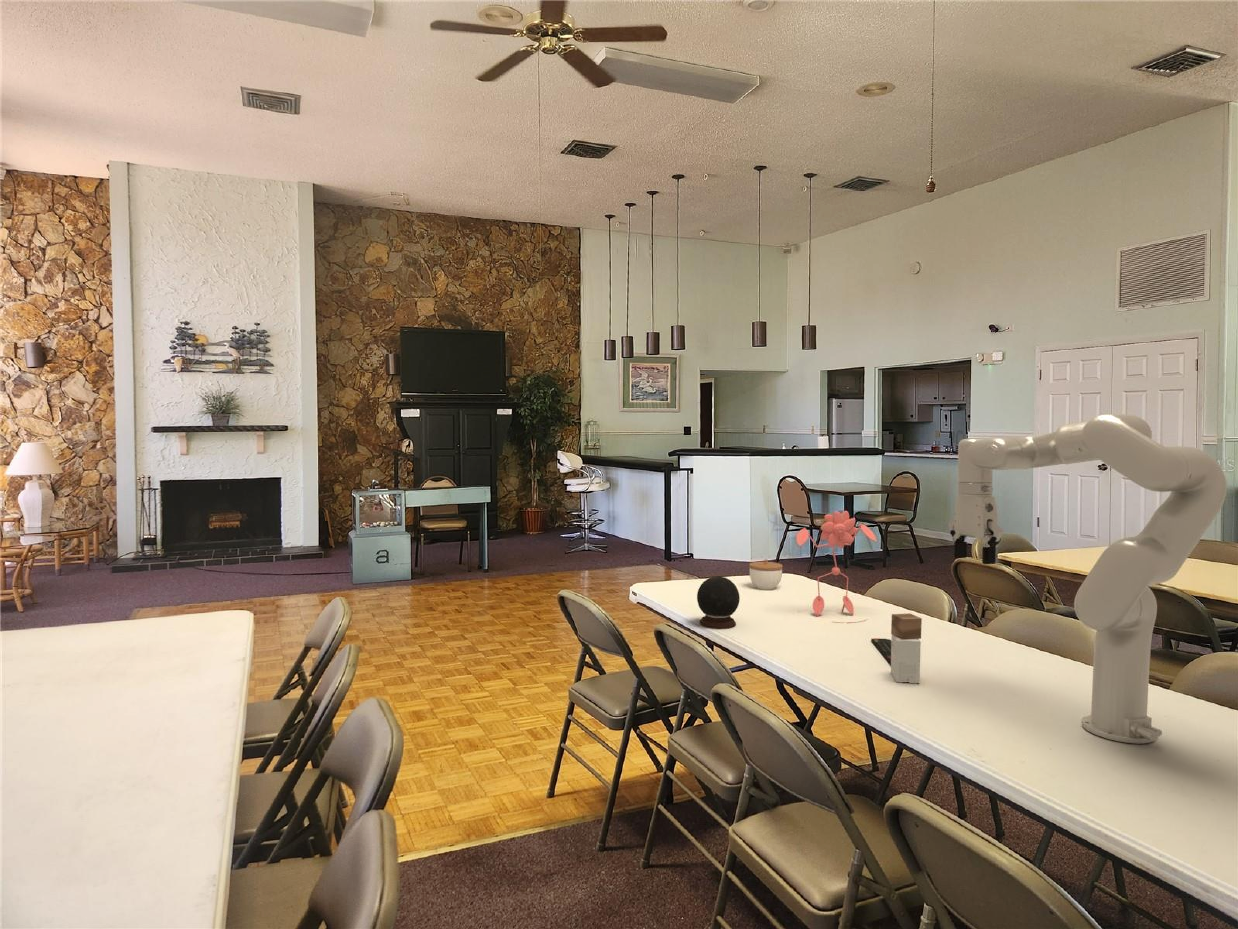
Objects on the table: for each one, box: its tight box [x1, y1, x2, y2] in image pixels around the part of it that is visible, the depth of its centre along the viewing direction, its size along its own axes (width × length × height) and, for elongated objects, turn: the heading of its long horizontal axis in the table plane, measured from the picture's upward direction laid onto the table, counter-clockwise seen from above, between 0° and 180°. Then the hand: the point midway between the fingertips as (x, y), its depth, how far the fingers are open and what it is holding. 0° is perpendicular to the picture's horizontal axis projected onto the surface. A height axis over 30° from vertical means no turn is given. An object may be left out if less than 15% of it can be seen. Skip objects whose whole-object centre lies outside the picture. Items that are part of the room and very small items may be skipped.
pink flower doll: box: [796, 510, 878, 624], centre depth 245 cm, size 15×26×35 cm, turn 95°
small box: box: [890, 634, 922, 684], centre depth 186 cm, size 8×6×10 cm
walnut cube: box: [890, 613, 923, 640], centre depth 186 cm, size 5×5×5 cm
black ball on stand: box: [696, 575, 740, 630], centre depth 235 cm, size 13×13×15 cm
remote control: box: [870, 637, 892, 666], centre depth 207 cm, size 5×24×1 cm, turn 174°
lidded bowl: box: [748, 558, 784, 591], centre depth 289 cm, size 13×13×11 cm
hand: (974, 560), depth 182 cm, fingers open, 9 cm apart
